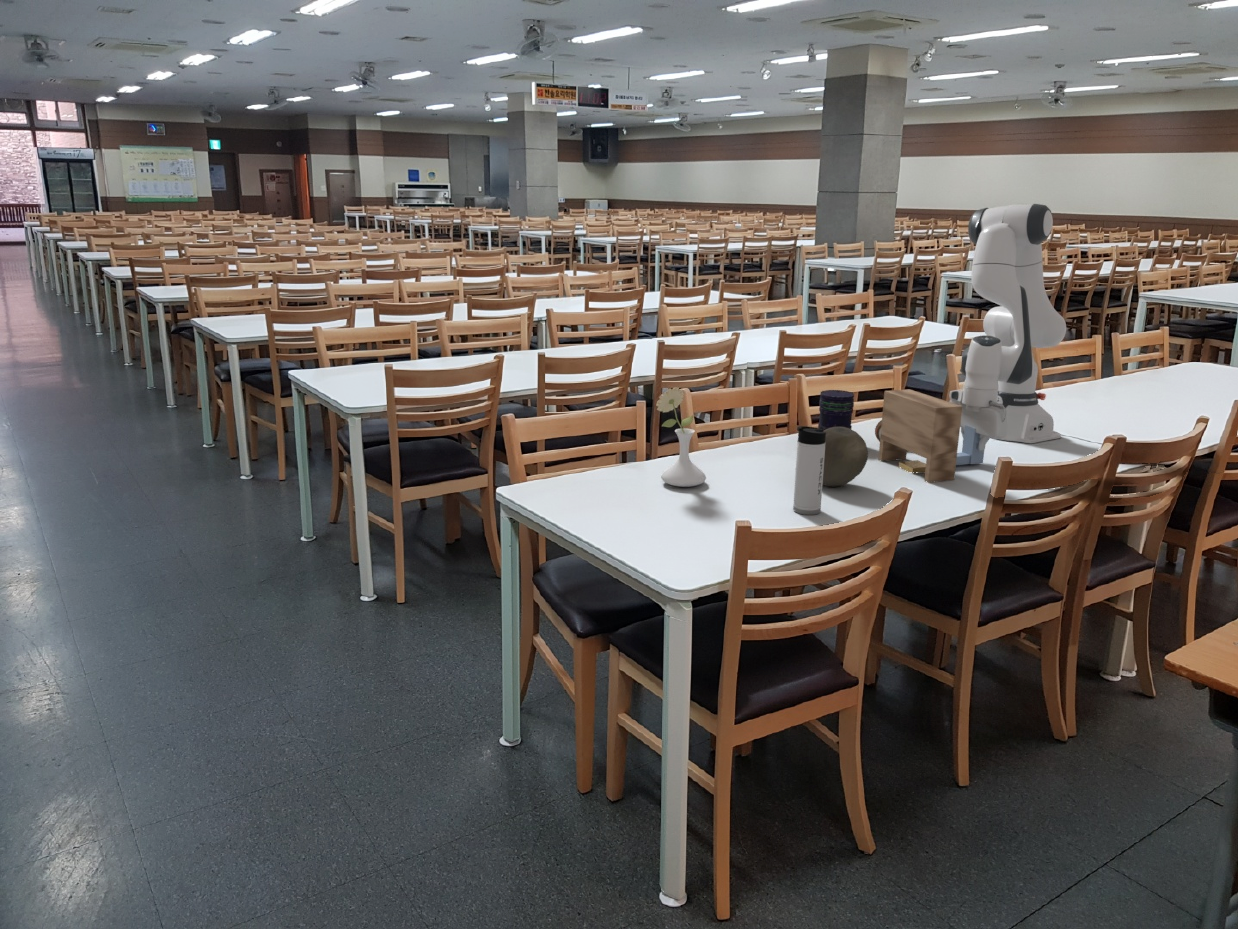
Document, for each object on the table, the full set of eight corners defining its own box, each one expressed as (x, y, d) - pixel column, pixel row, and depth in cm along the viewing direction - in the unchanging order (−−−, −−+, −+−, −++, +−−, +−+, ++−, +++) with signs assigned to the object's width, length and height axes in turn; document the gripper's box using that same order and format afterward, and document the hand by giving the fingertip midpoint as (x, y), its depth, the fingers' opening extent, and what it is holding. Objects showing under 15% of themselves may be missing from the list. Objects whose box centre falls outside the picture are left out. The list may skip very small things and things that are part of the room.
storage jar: (848, 448, 268) (853, 397, 264) (814, 445, 271) (818, 395, 267) (852, 440, 277) (856, 391, 273) (818, 437, 280) (822, 388, 276)
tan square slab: (916, 467, 252) (917, 460, 251) (931, 473, 246) (931, 466, 246) (898, 469, 250) (899, 462, 249) (912, 475, 244) (913, 468, 244)
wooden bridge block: (903, 457, 259) (910, 389, 254) (955, 479, 239) (963, 406, 234) (878, 460, 257) (884, 390, 251) (927, 482, 237) (935, 408, 231)
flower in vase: (698, 476, 241) (701, 381, 234) (711, 489, 230) (715, 390, 223) (649, 478, 238) (651, 383, 231) (660, 492, 227) (663, 392, 220)
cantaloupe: (818, 495, 226) (823, 435, 222) (799, 478, 239) (802, 422, 235) (873, 493, 228) (878, 434, 224) (850, 476, 241) (855, 420, 237)
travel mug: (788, 506, 218) (793, 424, 212) (816, 506, 218) (821, 423, 212) (795, 515, 212) (801, 430, 206) (823, 515, 212) (830, 430, 206)
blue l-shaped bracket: (972, 459, 256) (977, 424, 253) (982, 463, 252) (987, 427, 249) (925, 463, 251) (929, 428, 248) (935, 467, 247) (939, 431, 244)
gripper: (1016, 404, 240) (1009, 456, 244) (964, 389, 258) (958, 437, 262) (996, 406, 238) (990, 458, 242) (945, 390, 256) (940, 439, 260)
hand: (973, 447), depth 252 cm, fingers closed on blue l-shaped bracket, 4 cm apart
